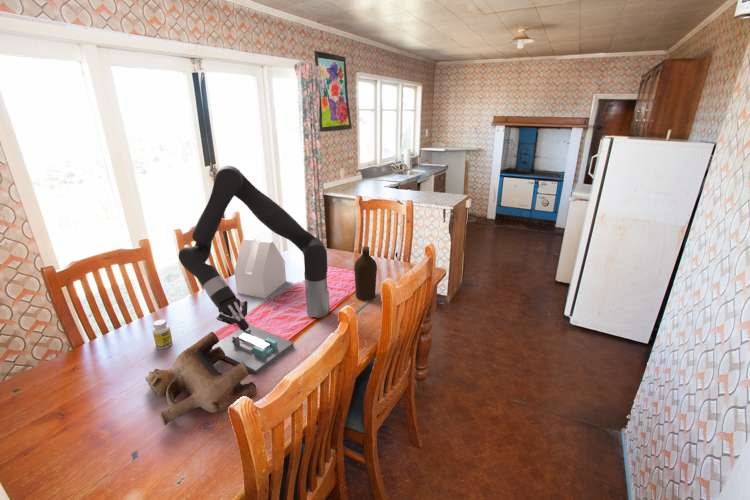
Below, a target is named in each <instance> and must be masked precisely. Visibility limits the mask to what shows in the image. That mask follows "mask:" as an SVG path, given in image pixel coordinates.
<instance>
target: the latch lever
mask: <svg viewBox="0 0 750 500" xmlns="http://www.w3.org/2000/svg"><path fill="white" fill-rule="evenodd" d="M239 340H240V341H242V342H244V343H246V344H249V345H251V346H253V347H254V346H256V345H257V346H259V347H261V348H263V349H265V350H267V349H268V348H270V344H269V343H267V342H264V341H262V340H260V339H258V338H256V337H253V336H251V335H249V334H247V333H244V334H242V335H240V336H239Z"/></svg>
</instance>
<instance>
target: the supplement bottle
mask: <svg viewBox="0 0 750 500" xmlns="http://www.w3.org/2000/svg"><path fill="white" fill-rule="evenodd" d="M152 326H153V329H152V334H153V339H154V344H155V347H156V348H157V349H160V350H161V349H167V348H169V347H170V346H171V345H172V344H173V338H172V333H171V329H170V326H169V324H167V320H166V319H158V320H156V321H154V322H153V325H152Z"/></svg>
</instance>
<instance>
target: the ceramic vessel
mask: <svg viewBox="0 0 750 500" xmlns="http://www.w3.org/2000/svg"><path fill="white" fill-rule="evenodd" d="M219 341H220V340H219V337H218V336H217V335H216V333H214V332H213V331H210V332H209V333H207V334H206V335H205V336H203V337H202V338H200V339H199V340H198V341H197V342H195V343H194V344H192V345H191V346H189V347H188V348H186V349H185V350H183V351H182V352H181V353H180V354H178V356H177V358H176V359H175V360H174V362H173V363H172V366H171V367H170V368H169V369H159V368H155V369H153V371H149V372H148V375H147V376H146V377H145V381H146V382H147V385H148V386H149V388H150V390H151V391H152V392H155V393H156V394H157V396H158V397H160V398H162V397H165V395H166V401H167V405H168V408H167V409H165V410H162V411H160V413H159V416H160V419H161V422H162V424H163V426H167V425H168V424H169V423H170V422H172V421H174V420H175V419H178V418H180V417H182V416H184V415H185V414H187V413H190V412H191V411H193V410H195V409H198V408H201V409H202V410H203V409H204V410H205V411H206V412H209V413H211V414H215V413H219V412H222V411H224V410H226V409H228V408H230V407H231V406H230V405H231V404H233V403H234V402H235V401H236V400H237V399H239V398H240V397H242V396H247V397H249V398H250V397H252V396H253V395H257V391H258V390H257V385H256V384H255V383H254V382H253V381H251V382H248V383H241V381H244V380H245V379H246V378H247V377H249V375H250V373H251V372H249V370H248V369H247V367H246V365H245V364H244V363H243V362H241V363H240V364H238V365H235V366H234V367H233V368H231V369H229V370H228V371H226V372H225V373H222V372H221V371H220V370H219V369H217V368H216V366H215V364H217V363H218V362H219V361H221V360H222V359H223V358H225V353H224V351H223V350H222V349H221V348H220V347H217V348H215V349H213V350H211V349H212V348H213V346H214V345H215V344H217V343H218V342H219ZM210 350H211V351H210ZM186 391H187V392H188V393H189V394H190V395H189V397H187V398H185V399H183V400H181V401H176V399H177V397H179V395H181V394H182V393H183V392H186ZM229 406H230V407H229Z"/></svg>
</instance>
